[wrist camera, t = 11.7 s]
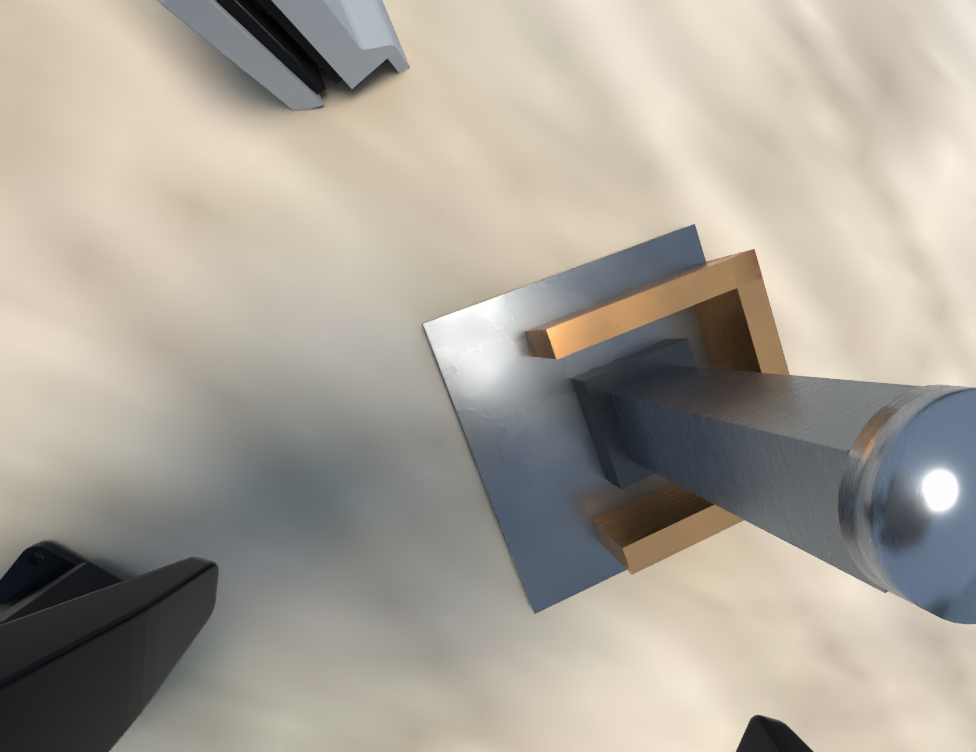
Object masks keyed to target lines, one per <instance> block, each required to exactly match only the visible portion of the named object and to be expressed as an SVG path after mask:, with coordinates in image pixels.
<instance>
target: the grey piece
mask: <svg viewBox="0 0 976 752" xmlns="http://www.w3.org/2000/svg"><path fill="white" fill-rule="evenodd" d="M571 380H572V383H573V386H574V389H575V391H576V394H577V397H578V400H579V403H580V406H581V409H582V412H583V414H584V417H585V420H586V423H587V426H588V429H589V432H590V435H591V437H592V440H593V443H594V446H595V449H596V452H597V455H598V457H599V460H600V463H601V466H602V469H603V472H604V475H605V478H606V480H608V481H609V482H611V483H612V484H614V485H615V486H617V487H618V488H620V489H623V488H626V487H628V486H630V485H632V484H634V483H637V482H639V481H641V480H643V479H645V478H648V477H650V476H652V475H654V474H657V475H659V476H661V477H663V478H665V479H667V480H668V481H670V482H672V483H674V484H676V485H678V486H680V487H682V488H684V489H686V490H688V491H690V492H692V493H694V494H695V495H697V496H699V497H701V498H703V499H705V500H707V501H709V502H711V503H713V504H715V505H717V506H719V507H721V508H722V509H724V510H726V511H728V512H730V513H732V514H734V515H736V516H738V517H740V518H742V519H744V520H746V521H748V522H749V523H751V524H753V525H755V526H757V527H759V528H761V529H763V530H765V531H767V532H769V533H771V534H773V535H774V536H776V537H778V538H780V539H782V540H784V541H786V542H788V543H790V544H792V545H794V546H796V547H798V548H800V549H801V550H803V551H805V552H807V553H809V554H811V555H813V556H815V557H817V558H819V559H821V560H823V561H825V562H827V563H828V564H830V565H832V566H834V567H836V568H838V569H840V570H842V571H844V572H846V573H848V574H850V575H852V576H854V577H855V578H857V579H859V580H861V581H863V582H865V583H867V584H869V585H871V586H873V587H875V588H877V589H879V590H881V591H882V592H884V593H886V592H888V591H889V592H891V593H893V594H895V595H897V596H899V597H901V598H903V599H905V600H907V601H909V602H911V603H913V604H915V605H916V606H918V607H920V608H922V609H924V610H926V611H928V612H930V613H932V614H934V615H936V616H938V617H940V618H942V619H945V620H948V621H951V622H954V623H961V624H976V388H974V387H962V386H949V385H927V386H911V385H900V384H888V383H876V382H864V381H852V380H840V379H829V378H817V377H805V376H793V375H781V374H770V373H758V372H746V371H734V370H722V369H710V368H699V367H696V364H695V361H694V357H693V354H692V351H691V348H690V344H689V341H688V338H684V339H666V340H664V341H661V342H659V343H656V344H654V345H651V346H649V347H646V348H644V349H642V350H639V351H637V352H634V353H632V354H629V355H627V356H624V357H622V358H620V359H617V360H615V361H612V362H610V363H607V364H605V365H602V366H600V367H597V368H595V369H593V370H590V371H588V372H585V373H583V374H580V375H578V376H575V377H573V378H571Z"/></svg>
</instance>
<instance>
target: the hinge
mask: <svg viewBox="0 0 976 752" xmlns="http://www.w3.org/2000/svg"><path fill="white" fill-rule="evenodd" d="M157 1H158V2H159V3H160V4H162V5H163V6H164V7H165V8H167V9H168V10H169V11H170V12H172V13H173V14H174V15H175V16H177V17H178V18H179V19H180V20H182V21H183V22H184V23H185V24H187V25H188V26H189V27H190V28H192V29H193V30H194V31H195V32H196V33H198V34H199V35H200V36H201V37H203V38H204V39H205V40H206V41H208V42H209V43H210V44H211V45H213V46H214V47H215V48H216V49H218V50H219V51H220V52H221V53H223V54H224V55H225V56H226V57H228V58H229V59H230V60H231V61H233V62H234V63H235V64H236V65H238V66H239V67H240V68H241V69H242V70H244V71H245V72H246V73H247V74H249V75H250V76H251V77H252V78H254V79H255V80H256V81H257V82H259V83H260V84H261V85H262V86H264V87H265V88H266V89H267V90H269V91H270V92H271V93H272V94H274V95H275V96H276V97H277V98H279V99H280V100H281V101H282V102H284V103H285V104H286V105H287V106H288V107H290V108H291V109H292V110H293V111H300V110H309V109H312V108H316V107H319V106H323V105H324V104H323V102H322V100H321V97H320V95H319V93H321V92H323V91H324V90H326V88H325V86H324V84H323V82H322V79H321V77H320V75H319V72H318V70H317V68H316V66H315V63H314V61H315V62H316V63H317V64H318V65H319V66H320V67H321V68H322V70H323V71H324V72H325V73H326V74H327V75H328V76H329V77H330V78H331V79H332V80H333V81H334V82H335V83H338V82H340V81H342V80H344V81H345V82H346V83H347V84H348V85H349V86H350V87H351V89H353V88H354V87H355V86H356V85H357V84H358V83H360V82H361V81H362V80H363V79H364V78H365V77H366V76H368V75H369V74H370V73H371V72H372V71H373V70H375V69H376V68H377V67H378V66H379V65H380V64H382V63H383V62H384V61H385V60H386V59H388V60H389V61H390V62H391V63H392V65H393V66H394V67H395V69H396V70H397V71H398V73H401V72H403V71H405V70H406V69H408V68H409V64H408V62H407V59H406V57H405V54H404V52H403V50H402V47H401V45H400V42H399V40H398V37H397V35H396V33H395V30H394V28H393V25H392V23H391V20H390V18H389V16H388V13H387V11H386V8H385V6H384V3H383V1H382V0H157ZM313 60H314V61H313Z"/></svg>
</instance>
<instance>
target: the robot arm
mask: <svg viewBox="0 0 976 752" xmlns="http://www.w3.org/2000/svg"><path fill="white" fill-rule="evenodd" d="M36 553H40V554H42V555H43V558H44V560H43V561H42V560H39V559H38V558H37V556H36ZM217 581H218V565H217V564H216V563H215V562H213V561H209V560H205V559H202V558H198V557H191V558H188V559H185V560H182V561H179V562H176V563H174V564H171V565H168V566H165V567H162V568H159V569H157V570H154V571H151V572H148V573H145V574H143V575H140V576H137V577H134V578H131V579H129V580H126V581H122V580H120V579H118V578H117V577H115V576H113V575H111V574H109V573H108V572H106V571H104V570H102V569H100V568H99V567H97V566H95V565H93V564H91V563H87V562H85V561H83V560H81V559H80V558H78V557H76V556H74V555H72V554H71V553H69V552H67V551H65V550H63V549H61V548H60V547H58V546H56V545H54V544H52V543H49V542H39V543H36V544H34V545H32V546H31V547H29V548H27V549H26V550H25V551H23V552H22V554H21V555H20V556H19V557H18V559H17V560H16V561H15V563H14V564H13V565H12V566H11V568H10V569H9V570H8V571H7V573H6V574H5V575H4V576H3V578H2V579H1V580H0V752H109V751H110V750H111V749H112V747H113V746H114V745H115V744H116V743H117V741H118V740H119V739H120V738H121V737H122V736H123V734H124V733H125V732H126V731H127V730H128V728H129V727H130V726H131V725H132V723H133V722H134V721H135V720H136V719H137V717H138V716H139V715H140V714H141V712H142V711H143V710H144V708H145V707H146V706H147V704H148V703H149V702H150V700H151V699H152V698H153V696H154V695H155V693H156V692H157V691H158V689H159V688H160V686H161V685H162V684H163V682H164V681H165V679H166V678H167V677H168V675H169V674H170V672H171V671H172V670H173V668H174V667H175V665H176V664H177V663H178V661H179V660H180V658H181V657H182V656H183V654H184V653H185V651H186V650H187V649H188V647H189V646H190V644H191V643H192V641H193V640H194V639H195V637H196V636H197V634H198V633H199V632H200V630H201V629H202V627H203V626H204V625H205V623H206V622H207V620H208V619H209V617H210V615H211V614H212V611H213V609H214V606H215V600H216V591H217ZM736 752H813V751H812V750H811V749H810V748H809V747H808V746H807V745H806V744H805V743H804V742H803V741H802V740H801V739H800V738H799V737H798V736H797V735H796V734H795V733H794V732H793V731H792V730H791V729H790V728H789V727H788V726H787V725H786V724H785V723H783V722H781V721H779V720H776V719H772V718H769V717H765V716H762V715H755V716H753V717H752V718H751V720H750V721H749V724H748V726H747V728H746V730H745V733H744V735H743V737H742V739H741V741H740V744H739V746H738V748H737V750H736Z"/></svg>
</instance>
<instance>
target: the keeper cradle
mask: <svg viewBox="0 0 976 752" xmlns="http://www.w3.org/2000/svg"><path fill="white" fill-rule="evenodd" d="M423 327H424V330H425V332H426V335H427V337H428V340H429V343H430V345H431V348H432V350H433V353H434V356H435V358H436V361H437V363H438V366H439V369H440V371H441V374H442V376H443V379H444V382H445V384H446V387H447V389H448V392H449V395H450V397H451V400H452V402H453V405H454V408H455V410H456V413H457V415H458V418H459V421H460V423H461V426H462V428H463V431H464V433H465V436H466V439H467V441H468V444H469V446H470V449H471V452H472V454H473V457H474V459H475V462H476V465H477V467H478V470H479V472H480V475H481V478H482V480H483V483H484V485H485V488H486V491H487V493H488V496H489V498H490V501H491V504H492V506H493V509H494V511H495V514H496V517H497V519H498V522H499V524H500V527H501V529H502V532H503V535H504V537H505V540H506V542H507V545H508V548H509V550H510V553H511V555H512V558H513V561H514V563H515V566H516V568H517V571H518V574H519V576H520V579H521V581H522V584H523V587H524V589H525V592H526V594H527V597H528V600H529V602H530V605H531V607H532V609H533V611H534V613H535V614H536V613H538V612H540V611H542V610H544V609H546V608H548V607H550V606H552V605H554V604H556V603H558V602H560V601H563V600H565V599H567V598H569V597H571V596H573V595H575V594H577V593H579V592H581V591H583V590H585V589H587V588H589V587H592V586H594V585H596V584H598V583H600V582H602V581H604V580H606V579H608V578H610V577H612V576H614V575H616V574H618V573H621V572H623V571H625V570H628V571H629V572H630V573H631V574H634V573H636V572H638V571H640V570H642V569H644V568H646V567H648V566H651V565H653V564H655V563H657V562H659V561H661V560H663V559H665V558H667V557H669V556H671V555H673V554H675V553H677V552H679V551H681V550H684V549H686V548H688V547H690V546H692V545H694V544H696V543H698V542H700V541H702V540H704V539H706V538H708V537H710V536H712V535H714V534H717V533H719V532H721V531H723V530H725V529H727V528H729V527H731V526H733V525H735V524H737V523H739V522H741V521H743V520H744V519H742V518H740V517H738V516H736V515H734V514H732V513H730V512H728V511H726V510H724V509H722V508H721V507H719V506H717V505H715V504H713V503H711V502H709V501H707V500H705V499H703V498H701V497H699V496H697V495H695V494H694V493H692V492H690V491H688V490H686V489H684V488H682V487H680V486H678V485H676V484H674V483H672V482H670V481H668V480H667V479H665V478H663V477H661V476H659V475H657V474H654V475H652V476H650V477H648V478H645V479H643V480H641V481H639V482H637V483H634V484H632V485H630V486H628V487H626V488H623V489H620V488H618V487H617V486H615V485H614V484H612V483H611V482H609V481H608V480H606V478H605V475H604V472H603V469H602V466H601V463H600V460H599V457H598V455H597V452H596V449H595V446H594V443H593V440H592V437H591V435H590V432H589V429H588V426H587V423H586V420H585V417H584V414H583V412H582V409H581V406H580V403H579V400H578V397H577V394H576V391H575V389H574V386H573V383H572V380H571V378H573V377H575V376H578V375H580V374H583V373H585V372H588V371H590V370H593V369H595V368H597V367H600V366H602V365H605V364H607V363H610V362H612V361H615V360H617V359H620V358H622V357H624V356H627V355H629V354H632V353H634V352H637V351H639V350H642V349H644V348H646V347H649V346H651V345H654V344H656V343H659V342H661V341H664V340H666V339H684V338H688V341H689V344H690V348H691V351H692V354H693V357H694V361H695V364H696V367H699V368H710V369H722V370H734V371H746V372H758V373H770V374H781V375H789V371H788V368H787V364H786V361H785V357H784V353H783V350H782V346H781V343H780V339H779V335H778V332H777V328H776V325H775V321H774V317H773V314H772V310H771V307H770V303H769V300H768V296H767V292H766V289H765V285H764V282H763V278H762V274H761V271H760V267H759V264H758V260H757V256H756V253H755V249H753V250H749V251H745V252H741V253H738V254H734V255H730V256H726V257H722V258H719V259H715V260H711V261H707V262H706V261H705V257H704V254H703V250H702V247H701V244H700V240H699V237H698V233H697V230H696V227H695V224H694V225H691V226H688V227H685V228H683V229H680V230H677V231H674V232H672V233H669V234H666V235H664V236H661V237H658V238H655V239H653V240H650V241H647V242H645V243H642V244H639V245H636V246H634V247H631V248H628V249H626V250H623V251H620V252H617V253H615V254H612V255H609V256H607V257H604V258H601V259H598V260H596V261H593V262H590V263H587V264H585V265H582V266H579V267H577V268H574V269H571V270H568V271H566V272H563V273H560V274H558V275H555V276H552V277H549V278H547V279H544V280H541V281H539V282H536V283H533V284H530V285H528V286H525V287H522V288H520V289H517V290H514V291H511V292H509V293H506V294H503V295H500V296H498V297H495V298H492V299H490V300H487V301H484V302H481V303H479V304H476V305H473V306H471V307H468V308H465V309H462V310H460V311H457V312H454V313H452V314H449V315H446V316H443V317H441V318H438V319H435V320H433V321H430V322H427V323H424V324H423Z"/></svg>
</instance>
